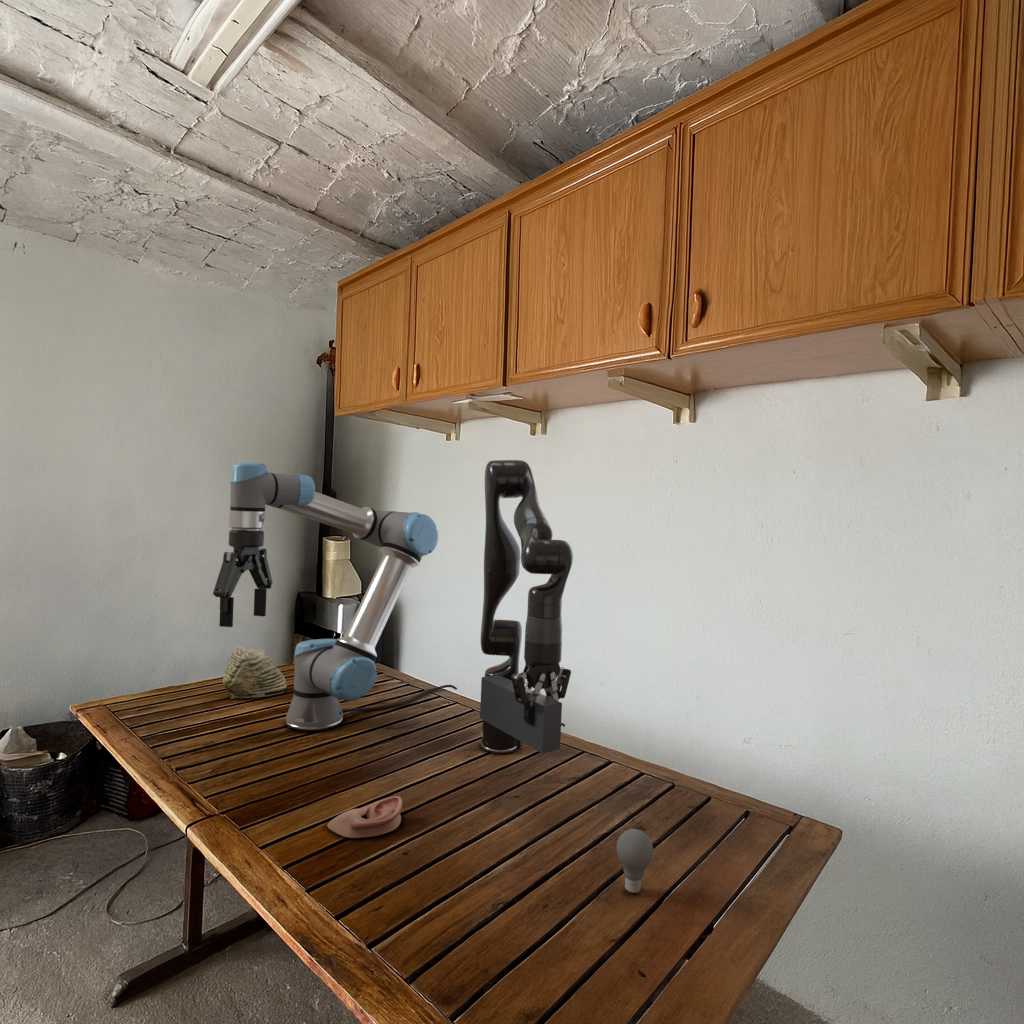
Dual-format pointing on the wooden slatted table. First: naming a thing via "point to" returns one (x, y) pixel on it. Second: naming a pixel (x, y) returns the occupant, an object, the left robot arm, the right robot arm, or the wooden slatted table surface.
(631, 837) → the light bulb
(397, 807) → the anatomical model
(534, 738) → the bar
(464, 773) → the wooden slatted table surface
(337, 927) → the wooden slatted table surface
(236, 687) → the fossil
